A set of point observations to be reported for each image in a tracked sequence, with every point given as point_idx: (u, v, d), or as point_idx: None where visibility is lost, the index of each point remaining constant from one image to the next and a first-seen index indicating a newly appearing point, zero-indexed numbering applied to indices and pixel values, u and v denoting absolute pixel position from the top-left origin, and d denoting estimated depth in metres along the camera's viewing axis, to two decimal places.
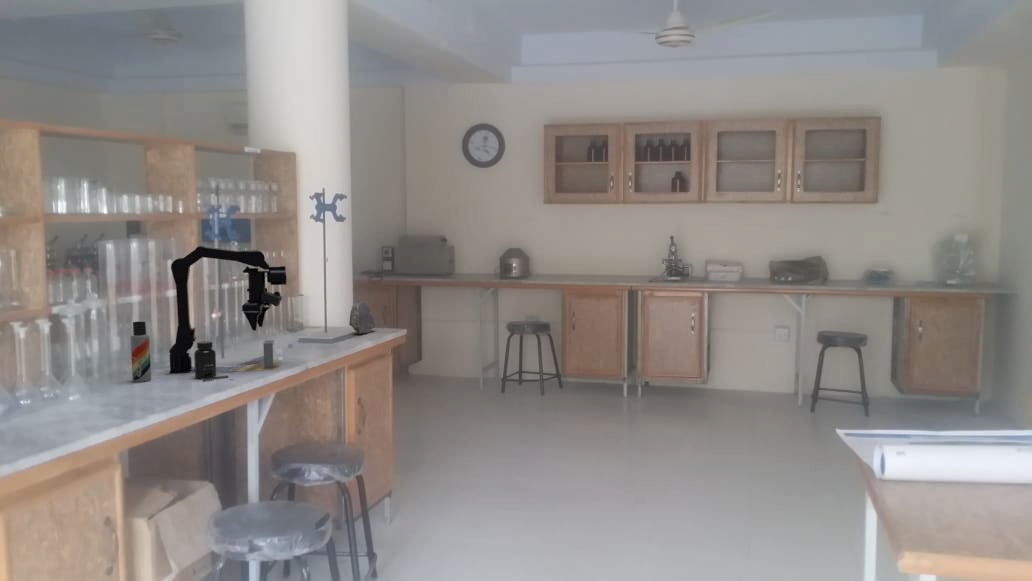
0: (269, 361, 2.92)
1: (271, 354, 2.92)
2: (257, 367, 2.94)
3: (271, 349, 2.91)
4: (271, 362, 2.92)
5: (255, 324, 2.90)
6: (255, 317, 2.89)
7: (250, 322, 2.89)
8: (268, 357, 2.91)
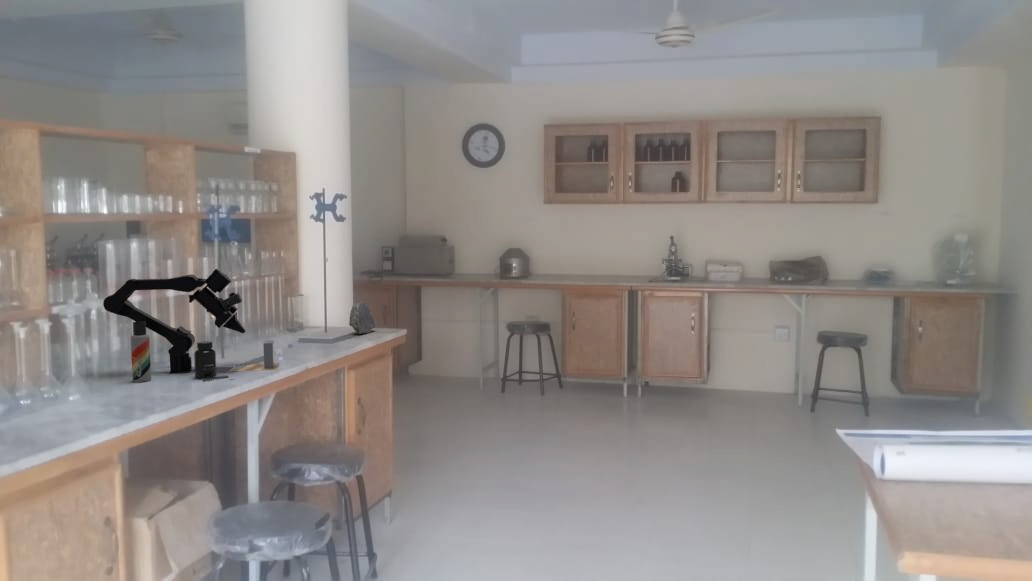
0: (269, 361, 2.92)
1: (271, 354, 2.92)
2: (257, 367, 2.94)
3: (271, 349, 2.91)
4: (271, 362, 2.92)
5: (240, 327, 2.91)
6: (235, 322, 2.90)
7: (235, 329, 2.90)
8: (268, 357, 2.91)
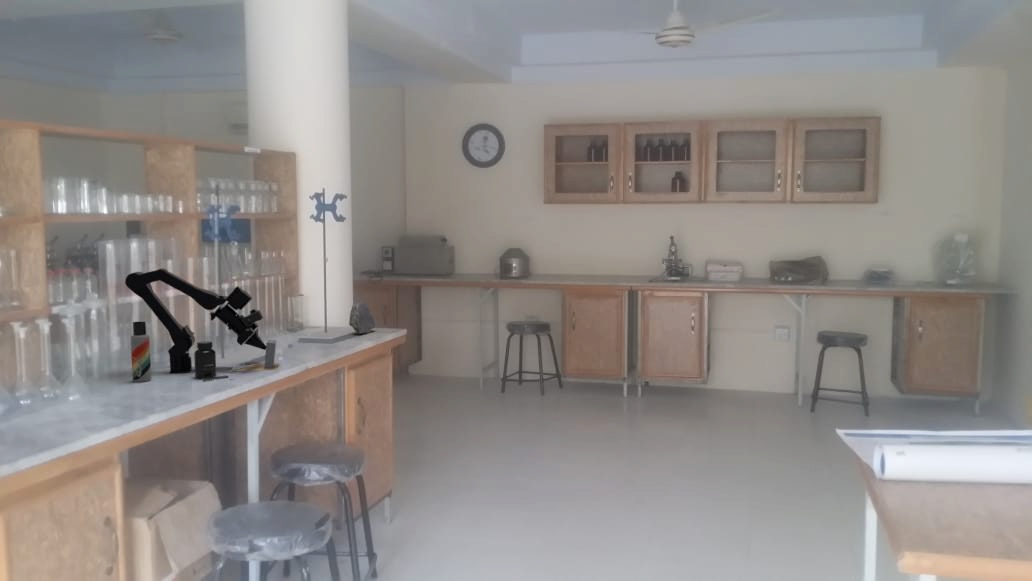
0: (270, 361, 2.92)
1: (273, 354, 2.92)
2: (257, 367, 2.94)
3: (273, 349, 2.92)
4: (272, 362, 2.92)
5: (262, 343, 2.93)
6: (256, 338, 2.92)
7: (257, 345, 2.92)
8: (269, 357, 2.92)
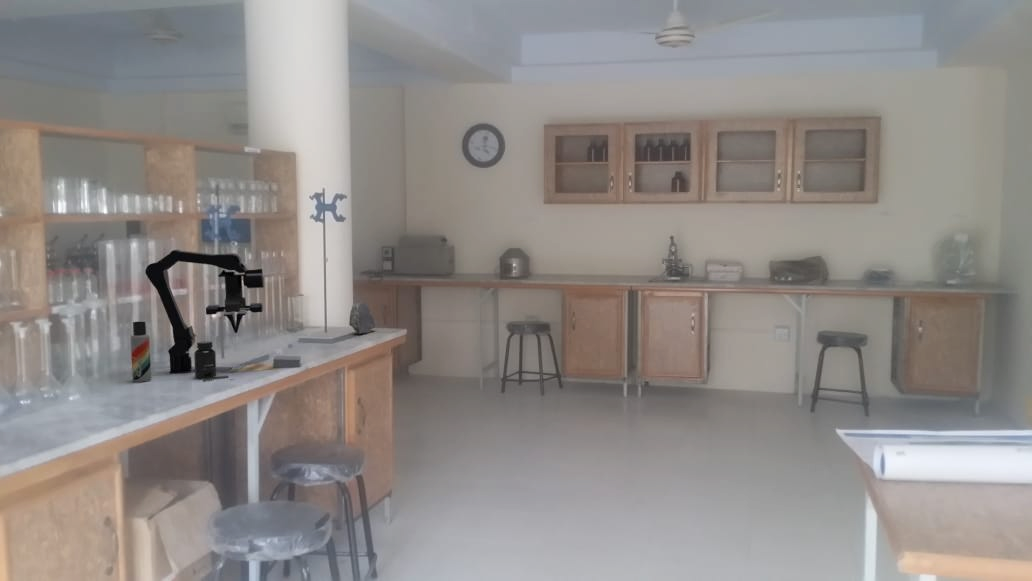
0: (280, 364, 2.93)
1: (287, 366, 2.93)
2: (257, 367, 2.94)
3: (292, 367, 2.94)
4: (279, 366, 2.93)
5: (232, 326, 2.91)
6: None
7: None
8: (284, 363, 2.93)
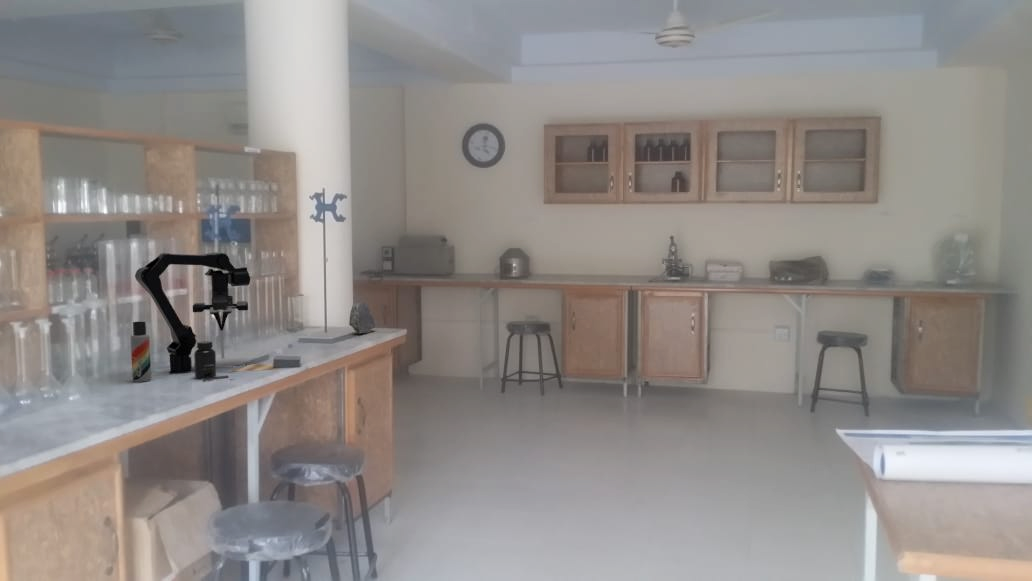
0: (280, 364, 2.93)
1: (287, 366, 2.93)
2: (257, 367, 2.94)
3: (292, 367, 2.94)
4: (279, 366, 2.93)
5: (218, 324, 2.96)
6: None
7: None
8: (284, 363, 2.93)
